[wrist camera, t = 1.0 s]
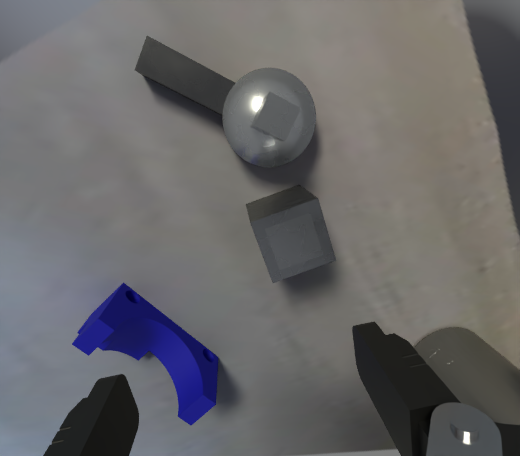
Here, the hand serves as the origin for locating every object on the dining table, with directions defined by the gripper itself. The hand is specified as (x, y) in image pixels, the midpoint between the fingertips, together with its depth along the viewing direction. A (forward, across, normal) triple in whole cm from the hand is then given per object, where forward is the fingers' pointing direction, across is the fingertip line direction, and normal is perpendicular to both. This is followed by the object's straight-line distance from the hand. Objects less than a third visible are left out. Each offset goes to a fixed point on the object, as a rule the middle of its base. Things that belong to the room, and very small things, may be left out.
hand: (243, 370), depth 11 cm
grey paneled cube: (+18, -4, 0) cm, 19 cm away
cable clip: (+18, +10, +9) cm, 23 cm away
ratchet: (+18, -1, -10) cm, 21 cm away
